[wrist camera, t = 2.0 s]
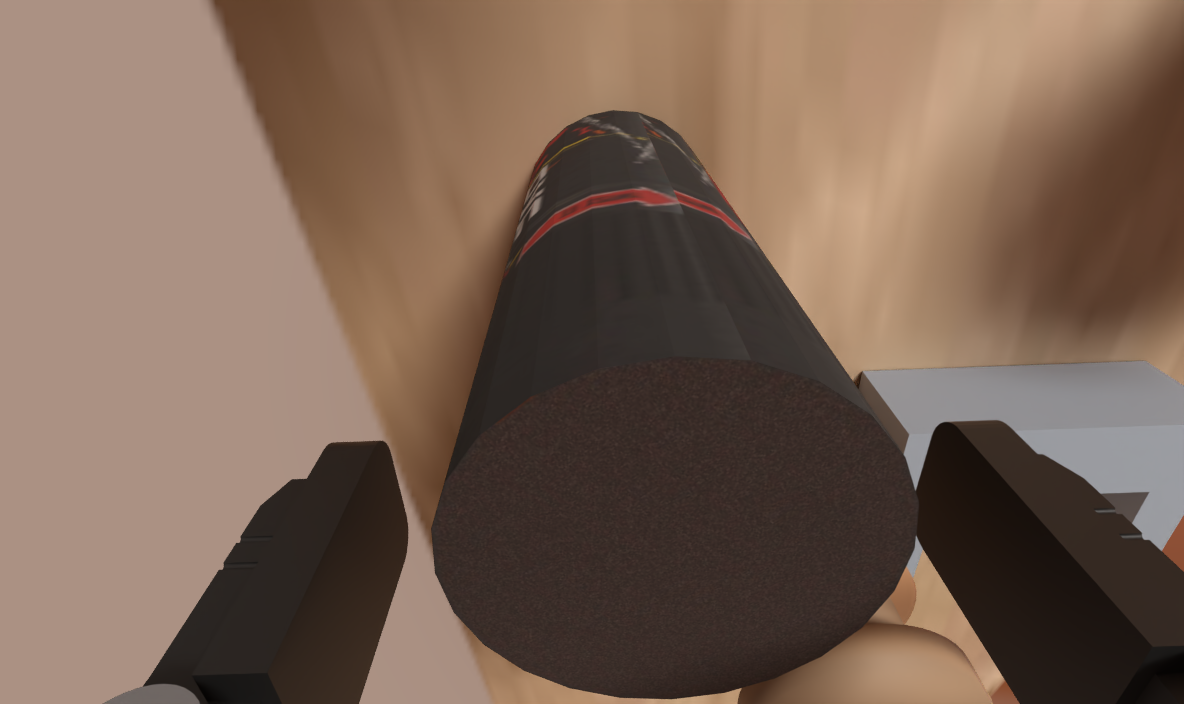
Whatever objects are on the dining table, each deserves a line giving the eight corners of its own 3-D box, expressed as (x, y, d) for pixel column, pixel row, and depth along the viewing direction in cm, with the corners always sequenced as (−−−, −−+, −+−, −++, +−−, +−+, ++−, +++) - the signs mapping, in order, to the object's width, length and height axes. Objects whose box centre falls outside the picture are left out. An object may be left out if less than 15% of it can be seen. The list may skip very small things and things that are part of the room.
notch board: (862, 370, 24) (909, 434, 21) (1145, 360, 24) (1240, 422, 20) (826, 535, 29) (859, 609, 25) (1064, 527, 28) (1130, 600, 25)
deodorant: (543, 91, 19) (454, 307, 6) (728, 132, 19) (1018, 407, 6) (516, 268, 22) (416, 675, 9) (678, 298, 22) (808, 718, 9)
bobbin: (670, 367, 24) (737, 654, 13) (851, 360, 24) (1058, 643, 13) (666, 501, 27) (716, 810, 17) (824, 495, 27) (971, 802, 17)
